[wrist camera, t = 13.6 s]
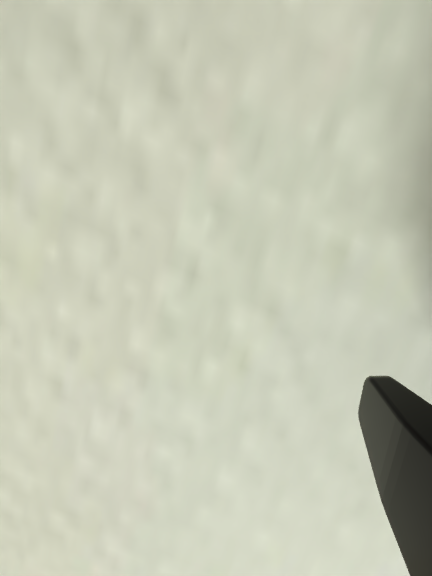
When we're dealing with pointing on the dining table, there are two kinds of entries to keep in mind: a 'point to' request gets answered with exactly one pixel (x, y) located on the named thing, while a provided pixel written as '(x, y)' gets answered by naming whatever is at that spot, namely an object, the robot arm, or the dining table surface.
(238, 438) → the dining table surface
